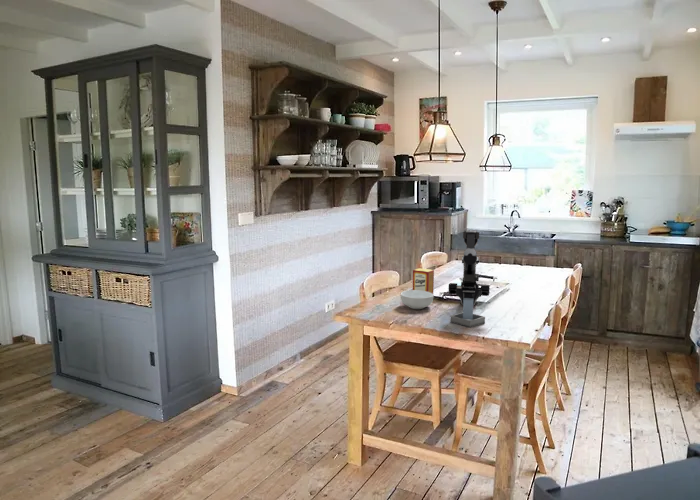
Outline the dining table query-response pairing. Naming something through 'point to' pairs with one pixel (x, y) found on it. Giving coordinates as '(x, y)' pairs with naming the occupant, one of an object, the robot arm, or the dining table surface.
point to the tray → (467, 320)
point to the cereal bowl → (417, 298)
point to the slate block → (468, 308)
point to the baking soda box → (423, 280)
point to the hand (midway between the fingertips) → (468, 305)
